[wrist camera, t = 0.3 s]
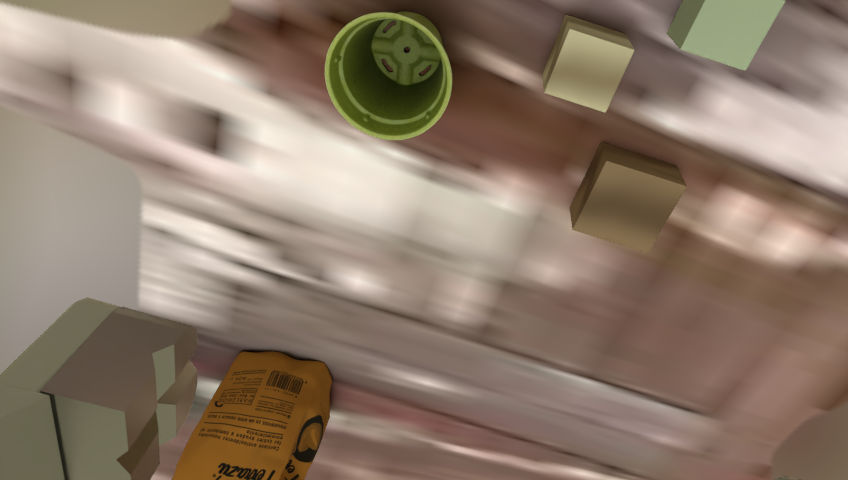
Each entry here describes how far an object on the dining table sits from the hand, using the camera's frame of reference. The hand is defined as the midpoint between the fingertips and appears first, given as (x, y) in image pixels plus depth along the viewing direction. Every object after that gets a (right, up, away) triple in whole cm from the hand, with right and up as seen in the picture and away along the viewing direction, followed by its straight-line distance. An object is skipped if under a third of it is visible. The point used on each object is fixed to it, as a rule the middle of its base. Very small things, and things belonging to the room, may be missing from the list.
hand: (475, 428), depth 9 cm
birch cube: (+12, +18, +42) cm, 47 cm away
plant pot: (-2, +19, +44) cm, 48 cm away
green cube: (+21, +20, +39) cm, 49 cm away
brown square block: (+17, +7, +47) cm, 51 cm away
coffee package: (-17, -14, +67) cm, 70 cm away
